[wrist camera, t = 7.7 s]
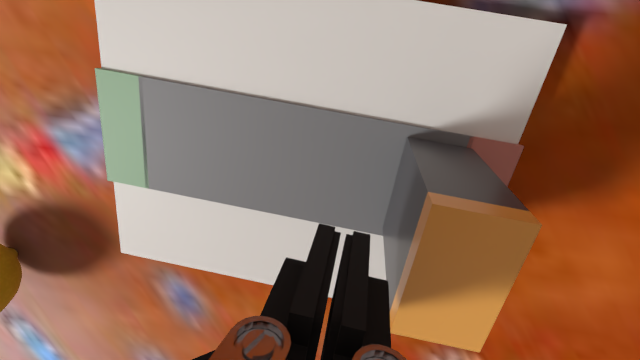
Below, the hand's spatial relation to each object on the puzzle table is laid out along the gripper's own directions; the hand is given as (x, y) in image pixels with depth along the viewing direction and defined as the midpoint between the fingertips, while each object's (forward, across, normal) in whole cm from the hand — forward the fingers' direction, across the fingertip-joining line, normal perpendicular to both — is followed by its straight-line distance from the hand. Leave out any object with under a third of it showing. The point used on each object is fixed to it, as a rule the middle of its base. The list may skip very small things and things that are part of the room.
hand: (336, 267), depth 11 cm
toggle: (+7, -3, -1) cm, 8 cm away
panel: (+8, +3, -1) cm, 9 cm away
